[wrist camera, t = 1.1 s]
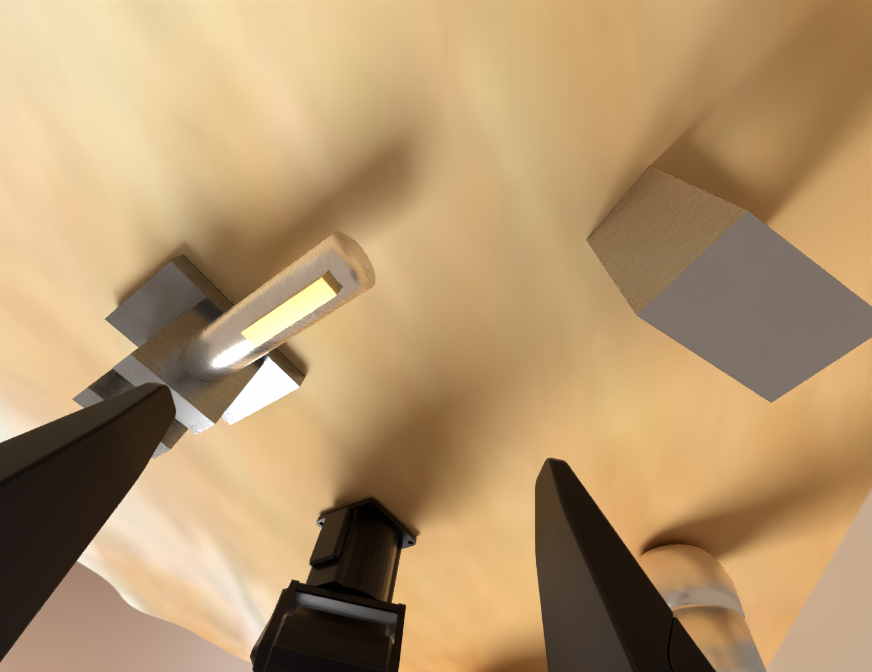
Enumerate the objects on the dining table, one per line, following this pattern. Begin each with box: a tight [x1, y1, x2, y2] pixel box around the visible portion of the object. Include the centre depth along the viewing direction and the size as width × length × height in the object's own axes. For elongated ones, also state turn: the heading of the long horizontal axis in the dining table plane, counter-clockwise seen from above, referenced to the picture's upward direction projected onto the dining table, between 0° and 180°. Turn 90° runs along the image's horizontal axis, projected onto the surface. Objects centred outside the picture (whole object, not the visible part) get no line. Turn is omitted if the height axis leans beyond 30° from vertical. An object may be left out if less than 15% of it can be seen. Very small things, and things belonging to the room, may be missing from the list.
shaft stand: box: [73, 232, 375, 459], centre depth 21 cm, size 10×17×6 cm, turn 125°
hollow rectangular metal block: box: [587, 166, 872, 403], centre depth 16 cm, size 6×4×8 cm, turn 59°
